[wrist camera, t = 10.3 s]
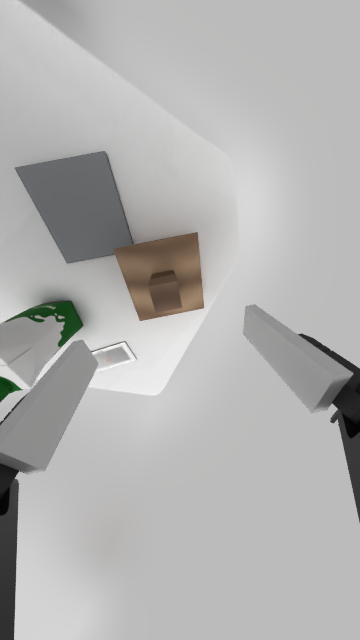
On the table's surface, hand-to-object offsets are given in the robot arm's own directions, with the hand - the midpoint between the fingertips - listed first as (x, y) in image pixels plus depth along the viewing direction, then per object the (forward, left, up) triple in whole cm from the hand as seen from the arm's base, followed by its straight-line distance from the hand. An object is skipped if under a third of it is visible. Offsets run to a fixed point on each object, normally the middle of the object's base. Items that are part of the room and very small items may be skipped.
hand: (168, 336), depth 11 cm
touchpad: (+21, -22, -25) cm, 40 cm away
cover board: (0, 0, -18) cm, 18 cm away
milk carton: (+5, -27, -25) cm, 37 cm away
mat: (-13, -12, -25) cm, 30 cm away
